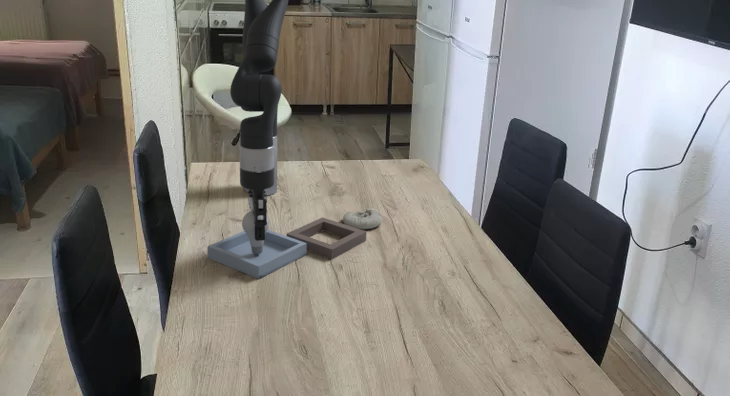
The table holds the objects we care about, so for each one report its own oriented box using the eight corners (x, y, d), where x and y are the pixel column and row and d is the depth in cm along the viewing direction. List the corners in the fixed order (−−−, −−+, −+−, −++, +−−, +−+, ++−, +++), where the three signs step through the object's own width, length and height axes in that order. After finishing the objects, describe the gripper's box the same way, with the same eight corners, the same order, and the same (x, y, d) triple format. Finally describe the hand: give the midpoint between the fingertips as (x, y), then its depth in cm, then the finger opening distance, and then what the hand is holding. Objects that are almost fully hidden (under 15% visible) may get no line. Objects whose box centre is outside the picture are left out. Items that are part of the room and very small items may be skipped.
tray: (207, 258, 149) (207, 246, 148) (256, 236, 161) (256, 225, 160) (259, 279, 141) (259, 266, 140) (306, 254, 153) (306, 243, 152)
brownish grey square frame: (286, 243, 159) (286, 233, 158) (322, 226, 170) (322, 217, 169) (331, 259, 152) (332, 249, 151) (366, 240, 162) (366, 231, 162)
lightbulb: (246, 262, 147) (243, 218, 143) (242, 249, 152) (239, 207, 148) (272, 258, 149) (270, 215, 144) (268, 246, 154) (266, 204, 150)
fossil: (362, 200, 179) (391, 213, 174) (360, 212, 180) (389, 225, 175) (336, 210, 170) (367, 224, 165) (335, 223, 172) (364, 237, 167)
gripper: (237, 156, 149) (238, 221, 154) (242, 175, 136) (244, 246, 142) (269, 155, 151) (270, 219, 156) (278, 174, 138) (278, 244, 144)
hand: (257, 232), depth 149 cm, fingers open, 8 cm apart
